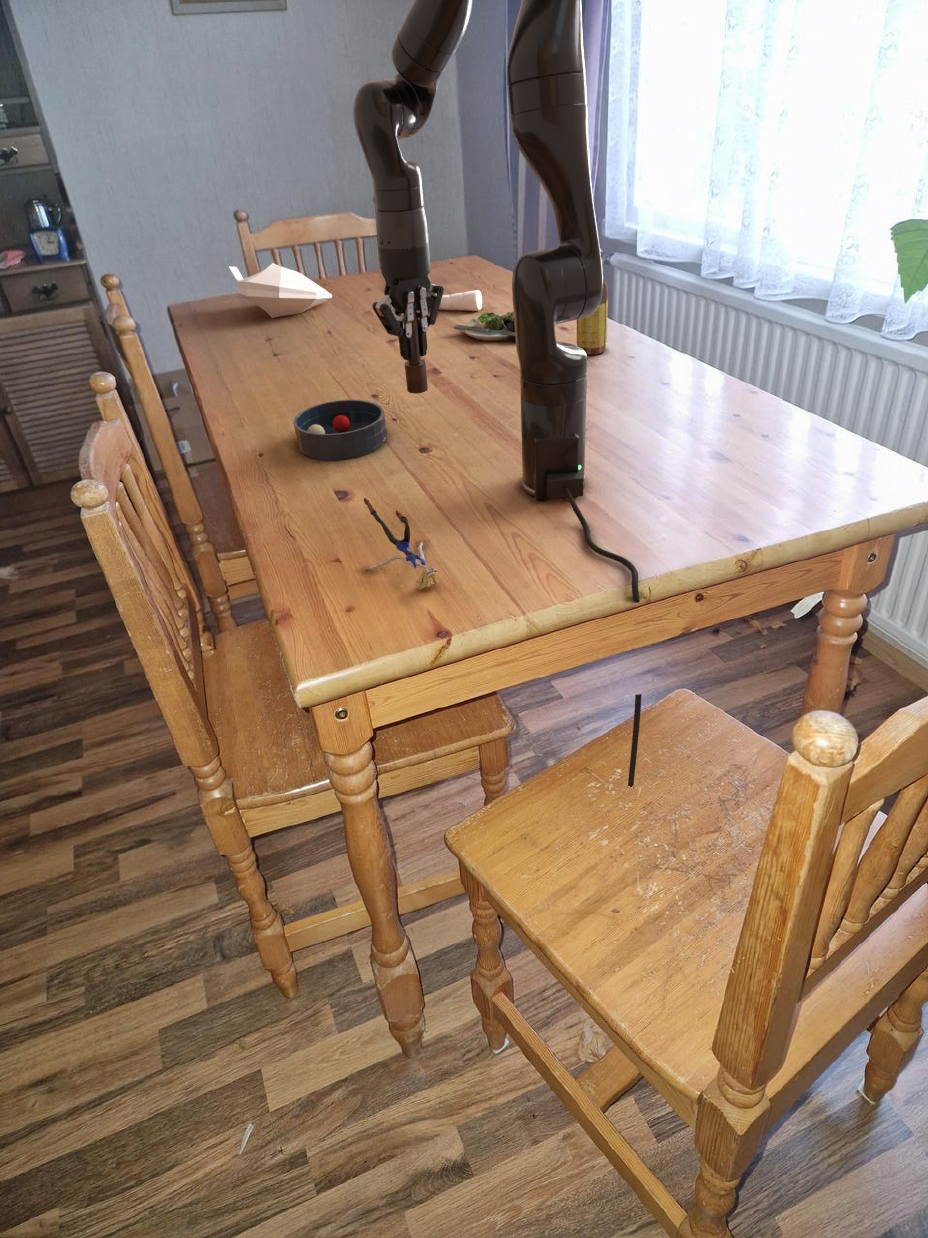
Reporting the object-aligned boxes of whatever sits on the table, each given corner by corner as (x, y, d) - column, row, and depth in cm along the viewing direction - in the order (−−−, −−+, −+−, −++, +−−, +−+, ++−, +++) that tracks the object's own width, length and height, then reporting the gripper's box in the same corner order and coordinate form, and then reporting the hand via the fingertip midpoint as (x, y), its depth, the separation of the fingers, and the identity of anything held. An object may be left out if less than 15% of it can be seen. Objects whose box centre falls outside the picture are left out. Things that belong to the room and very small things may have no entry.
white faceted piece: (348, 304, 213) (341, 253, 205) (284, 330, 197) (273, 276, 190) (280, 295, 225) (271, 247, 217) (214, 319, 209) (202, 268, 202)
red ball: (351, 432, 143) (348, 432, 140) (335, 432, 143) (331, 432, 140) (351, 415, 142) (347, 415, 139) (334, 415, 143) (330, 414, 140)
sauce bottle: (586, 344, 174) (589, 245, 162) (612, 349, 170) (616, 247, 159) (569, 353, 170) (571, 252, 158) (595, 358, 166) (598, 255, 155)
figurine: (411, 648, 103) (351, 545, 114) (469, 613, 103) (404, 513, 114) (384, 608, 94) (322, 500, 105) (448, 570, 95) (379, 466, 105)
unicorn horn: (398, 303, 210) (396, 284, 207) (484, 308, 202) (483, 287, 199) (390, 309, 206) (388, 289, 203) (477, 313, 198) (476, 293, 195)
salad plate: (448, 345, 179) (447, 324, 177) (459, 321, 193) (458, 301, 191) (536, 343, 177) (536, 322, 174) (540, 319, 191) (540, 299, 188)
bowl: (384, 456, 134) (381, 431, 132) (292, 463, 134) (287, 437, 132) (389, 420, 147) (386, 396, 144) (304, 426, 147) (300, 402, 144)
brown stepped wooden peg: (427, 392, 132) (419, 303, 123) (406, 394, 132) (397, 305, 123) (428, 385, 134) (420, 297, 126) (407, 386, 134) (398, 299, 126)
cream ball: (324, 446, 139) (321, 434, 137) (307, 445, 139) (304, 433, 137) (327, 432, 141) (324, 421, 138) (310, 431, 141) (307, 420, 138)
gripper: (385, 253, 114) (399, 374, 124) (453, 233, 121) (461, 349, 132) (351, 247, 118) (367, 365, 128) (419, 229, 126) (429, 341, 136)
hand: (414, 356), depth 130 cm, fingers closed on brown stepped wooden peg, 2 cm apart
